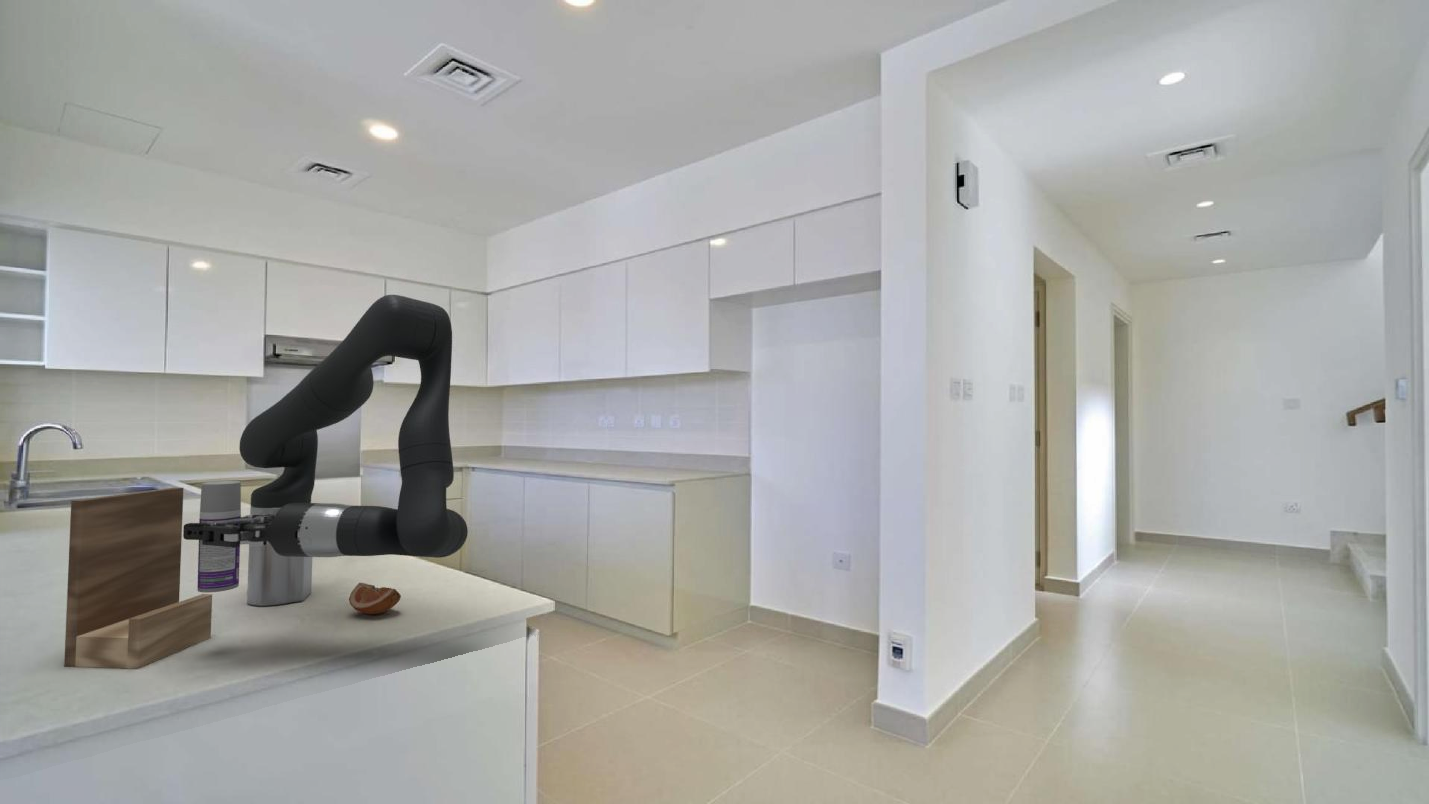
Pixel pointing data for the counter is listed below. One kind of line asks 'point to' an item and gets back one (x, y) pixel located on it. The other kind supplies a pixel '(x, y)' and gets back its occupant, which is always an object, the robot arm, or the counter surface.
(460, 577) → the counter surface
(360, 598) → the fruit slice
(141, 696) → the counter surface
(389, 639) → the counter surface
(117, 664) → the board
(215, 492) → the container
